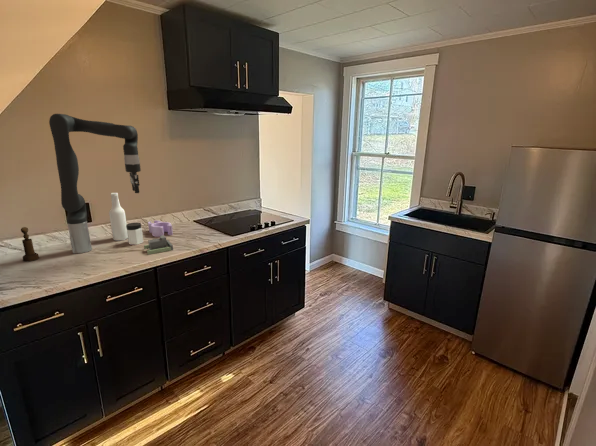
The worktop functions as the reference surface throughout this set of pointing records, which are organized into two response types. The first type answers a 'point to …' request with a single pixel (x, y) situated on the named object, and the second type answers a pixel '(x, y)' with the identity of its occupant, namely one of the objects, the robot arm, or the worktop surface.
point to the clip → (160, 228)
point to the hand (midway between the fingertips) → (136, 191)
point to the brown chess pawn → (28, 247)
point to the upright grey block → (157, 243)
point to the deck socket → (169, 248)
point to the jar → (134, 233)
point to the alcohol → (117, 219)
